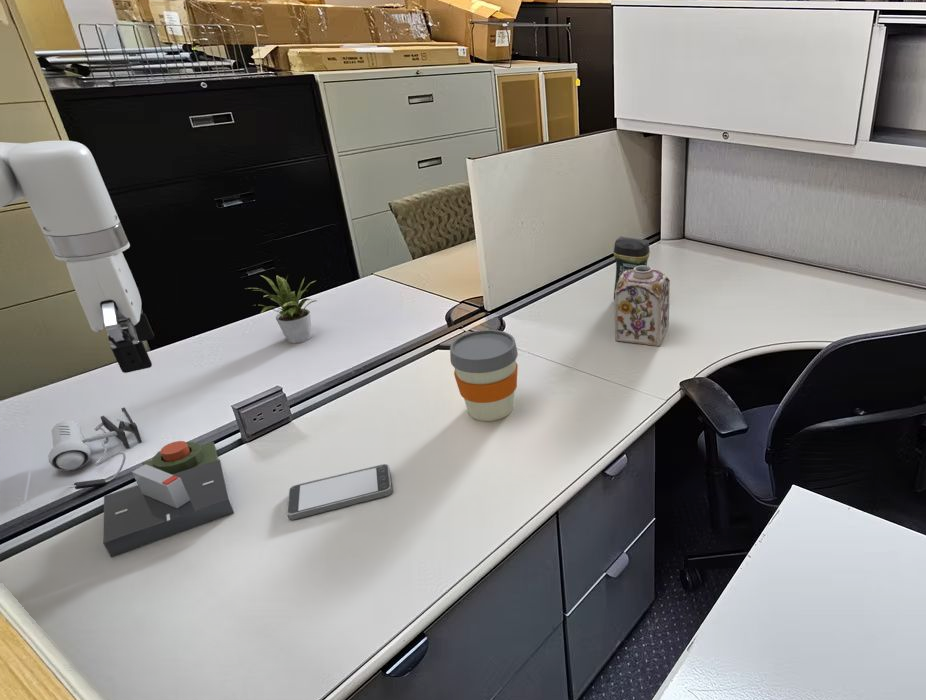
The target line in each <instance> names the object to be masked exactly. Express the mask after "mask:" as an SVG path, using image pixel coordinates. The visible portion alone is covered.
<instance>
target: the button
mask: <svg viewBox="0 0 926 700" xmlns="http://www.w3.org/2000/svg"><path fill="white" fill-rule="evenodd" d="M186 442H187V441H183V440H178V441H176V440H175V441H173V442H169V443H168V444H165V445H164V446H163V447H162V448H160V450H159V451H160V452H161V454H162V457H163V459H164V461H165V462H174V461H177V460H180V459H182V458H184V457H186V456H188V455H189V454H190V450H189V447H188V445H187V443H186Z"/></svg>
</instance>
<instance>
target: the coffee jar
mask: <svg viewBox="0 0 926 700" xmlns="http://www.w3.org/2000/svg"><path fill="white" fill-rule="evenodd" d="M614 242H615V243H614V247H613V257H614V260H615V280H614V291H613V300H614V302H615V290H616V286H617V283H618V280H619V277H620V275H621V274H622V273H623V272H624V271H627V270H631V269H634V268H635V267H636V266H641V265H645V266H648V261H649V258H650V254H651V251H650V243H649V240H648V239H641V238H633V237H626V236H619V237H617V239H616V240H615V241H614Z"/></svg>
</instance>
